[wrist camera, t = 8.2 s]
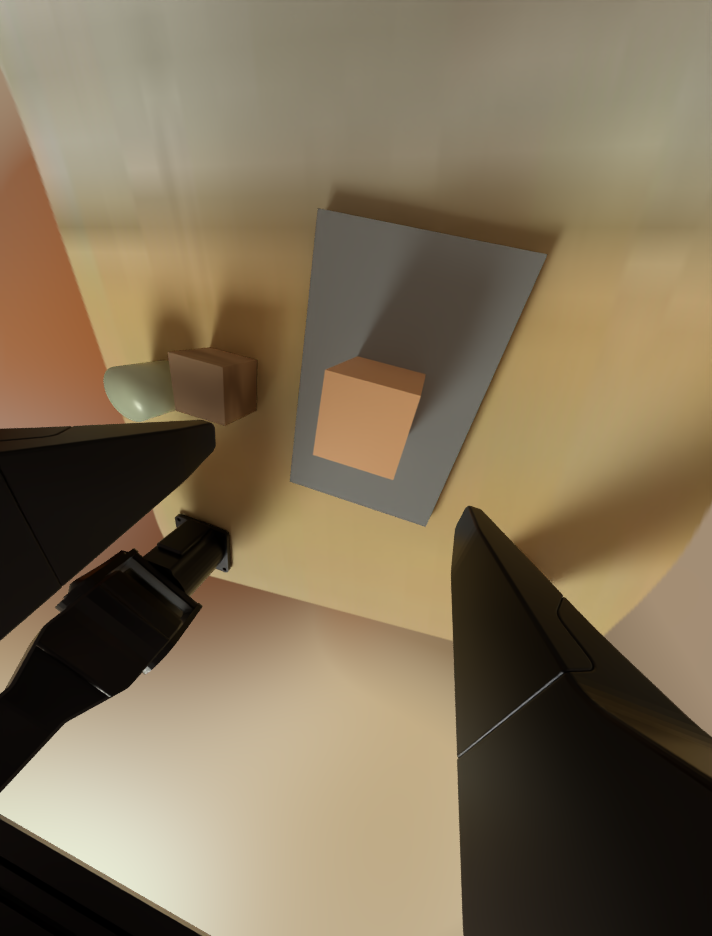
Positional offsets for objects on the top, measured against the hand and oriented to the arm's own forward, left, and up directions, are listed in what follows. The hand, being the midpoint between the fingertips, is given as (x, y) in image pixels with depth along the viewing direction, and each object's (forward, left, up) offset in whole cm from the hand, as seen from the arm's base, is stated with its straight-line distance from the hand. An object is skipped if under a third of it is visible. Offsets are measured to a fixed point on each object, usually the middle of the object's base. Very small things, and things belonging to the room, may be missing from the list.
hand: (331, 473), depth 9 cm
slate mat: (0, 0, -12) cm, 12 cm away
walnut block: (-2, +12, -12) cm, 17 cm away
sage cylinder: (-4, +18, -12) cm, 22 cm away
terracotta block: (0, 0, -11) cm, 11 cm away
